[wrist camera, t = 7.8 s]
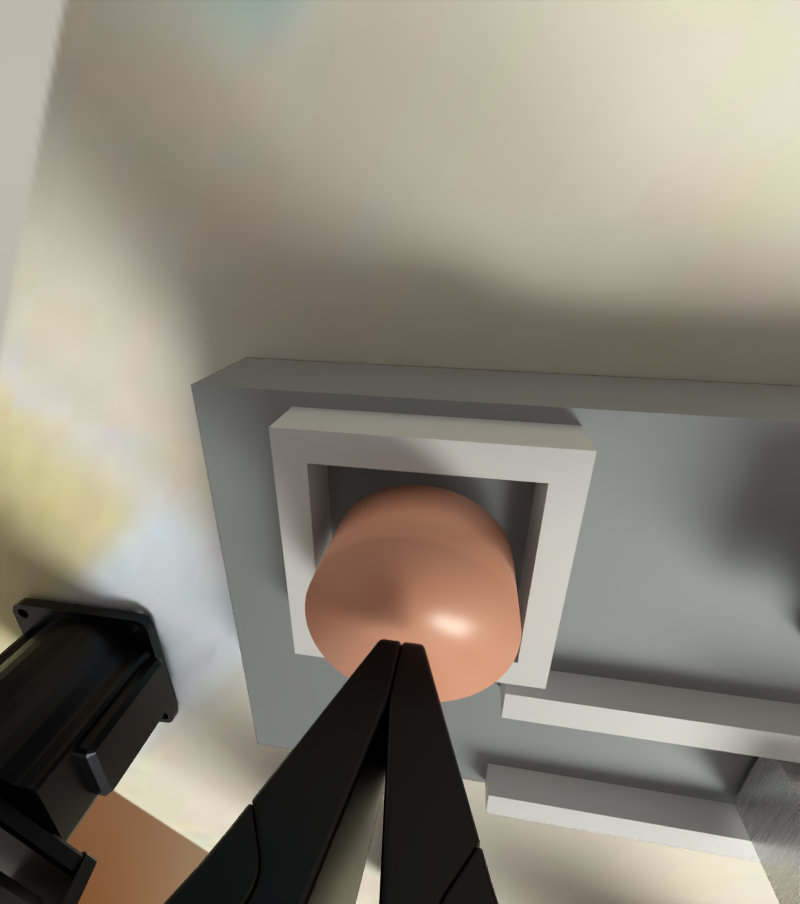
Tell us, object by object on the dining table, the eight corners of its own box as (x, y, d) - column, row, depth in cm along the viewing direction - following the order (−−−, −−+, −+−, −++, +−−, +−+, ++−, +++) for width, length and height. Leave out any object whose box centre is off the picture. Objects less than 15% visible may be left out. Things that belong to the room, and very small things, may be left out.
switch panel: (287, 675, 20) (237, 789, 16) (246, 357, 14) (148, 405, 10) (910, 768, 17) (1055, 942, 12) (1199, 406, 11) (1655, 508, 7)
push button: (336, 621, 12) (311, 686, 10) (327, 476, 10) (296, 525, 8) (503, 643, 12) (507, 716, 10) (524, 493, 10) (536, 550, 8)
